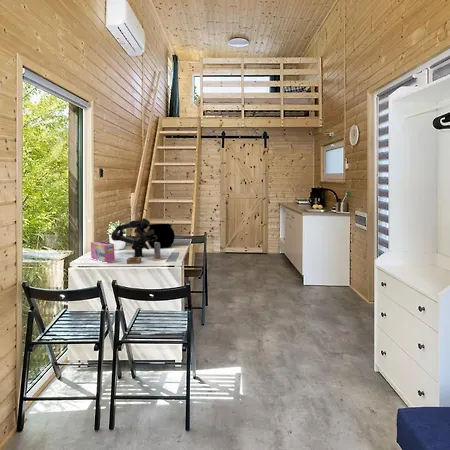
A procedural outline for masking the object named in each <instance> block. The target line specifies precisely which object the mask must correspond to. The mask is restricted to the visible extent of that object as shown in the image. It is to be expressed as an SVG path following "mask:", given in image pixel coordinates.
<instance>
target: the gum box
mask: <svg viewBox="0 0 450 450" xmlns="http://www.w3.org/2000/svg"><path fill="white" fill-rule="evenodd" d="M90 256H91V258H93V259H96V260H99V261H102V262H101V263H103V262H110V263H114V262H113V261H115V260H116V259H115V256H116V255H115V244H114V243H110V242H106V241H101V240H98V241H96V242H92V241H91V242H90ZM91 258H90V259H91ZM93 259H92V260H93ZM96 260H95V261H96ZM99 261H98V262H99ZM115 262H116V261H115Z"/></svg>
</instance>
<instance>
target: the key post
mask: <svg viewBox="0 0 450 450" xmlns="http://www.w3.org/2000/svg"><path fill="white" fill-rule="evenodd" d="M153 253H154V258H155V259H160V258H161V257H162V256H161V248H160V243H159V242H155V244H154V248H153Z"/></svg>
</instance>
